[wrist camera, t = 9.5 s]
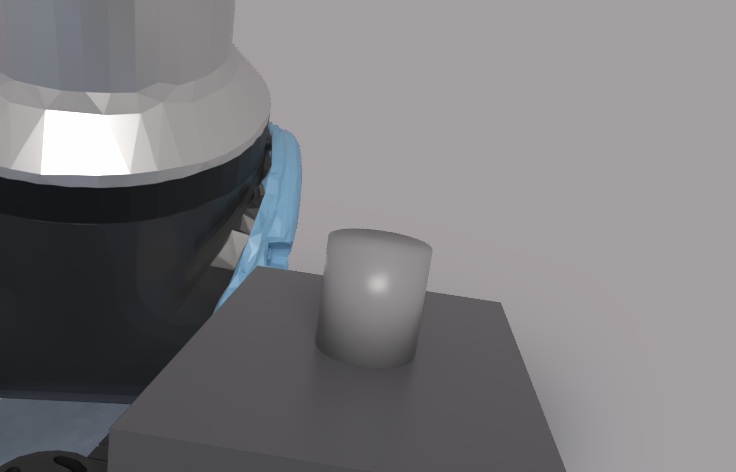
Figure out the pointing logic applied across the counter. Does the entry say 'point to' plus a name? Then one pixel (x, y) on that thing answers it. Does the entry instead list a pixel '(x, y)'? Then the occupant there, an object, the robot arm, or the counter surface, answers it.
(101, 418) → the counter surface
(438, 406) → the grey block with knob
